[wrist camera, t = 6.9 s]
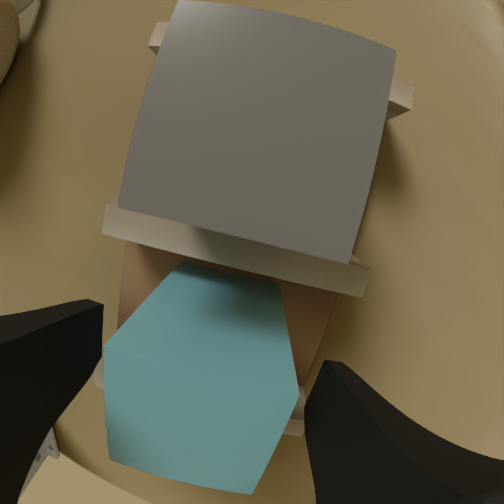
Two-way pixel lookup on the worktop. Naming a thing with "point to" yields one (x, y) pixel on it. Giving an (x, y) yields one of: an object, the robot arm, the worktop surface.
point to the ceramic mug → (9, 32)
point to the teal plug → (201, 380)
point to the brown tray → (241, 265)
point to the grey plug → (260, 128)
